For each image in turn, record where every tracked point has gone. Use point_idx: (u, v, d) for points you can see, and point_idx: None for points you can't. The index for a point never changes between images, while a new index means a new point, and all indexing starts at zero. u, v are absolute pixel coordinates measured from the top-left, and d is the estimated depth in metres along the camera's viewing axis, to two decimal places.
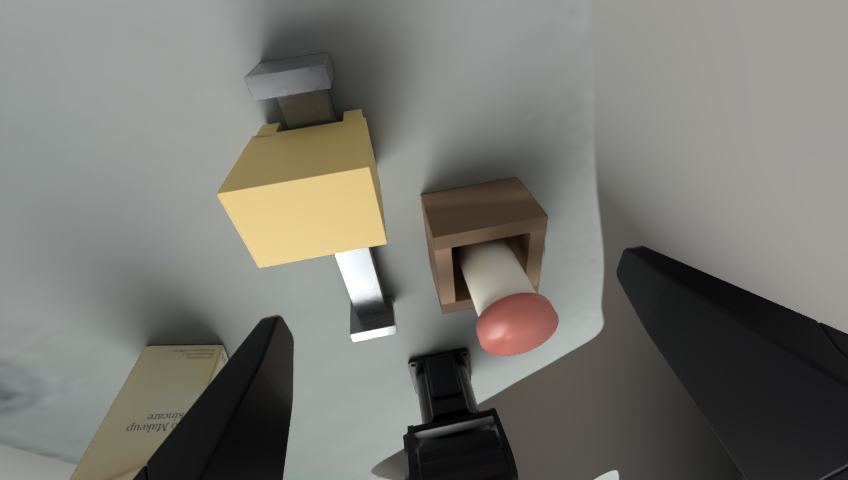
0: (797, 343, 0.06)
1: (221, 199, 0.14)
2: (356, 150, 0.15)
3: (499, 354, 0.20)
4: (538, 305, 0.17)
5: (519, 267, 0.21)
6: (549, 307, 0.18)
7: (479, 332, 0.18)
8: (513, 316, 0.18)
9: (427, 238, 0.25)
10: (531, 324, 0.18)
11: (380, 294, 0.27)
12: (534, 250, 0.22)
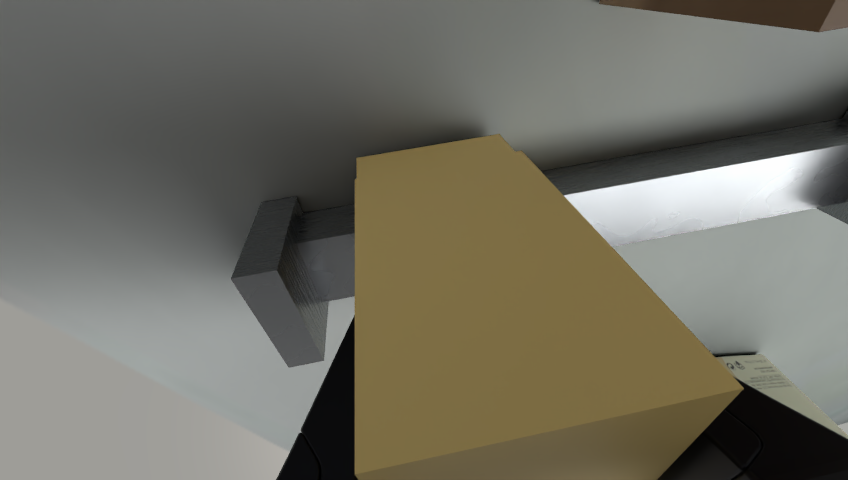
0: None
1: None
2: None
3: None
4: None
5: None
6: None
7: None
8: None
9: None
10: None
11: (833, 148, 0.10)
12: None
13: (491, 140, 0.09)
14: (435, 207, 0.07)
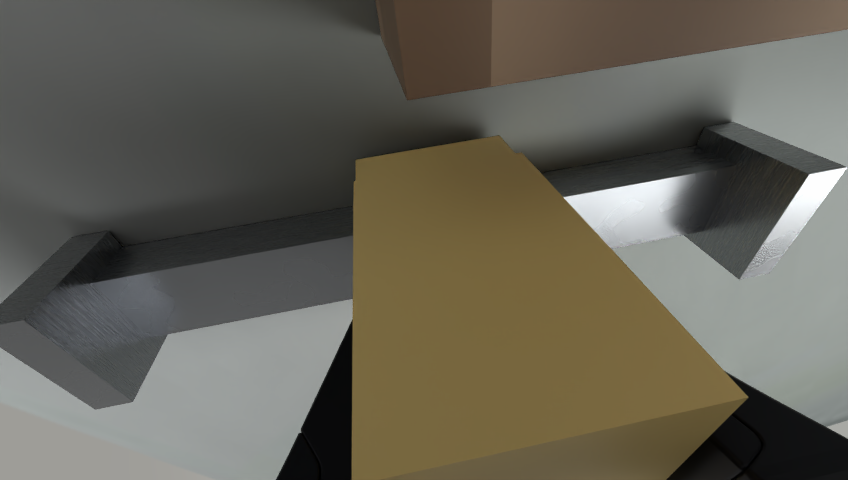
0: None
1: None
2: None
3: None
4: None
5: None
6: None
7: None
8: None
9: None
10: None
11: (669, 180, 0.10)
12: None
13: (491, 142, 0.09)
14: (434, 210, 0.07)
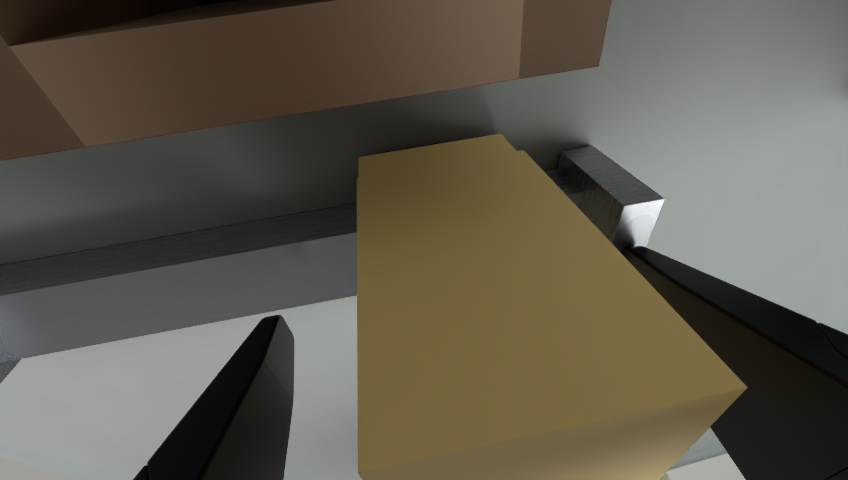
0: (796, 343, 0.06)
1: None
2: None
3: None
4: None
5: None
6: None
7: None
8: None
9: None
10: None
11: None
12: None
13: (493, 139, 0.09)
14: (437, 206, 0.07)
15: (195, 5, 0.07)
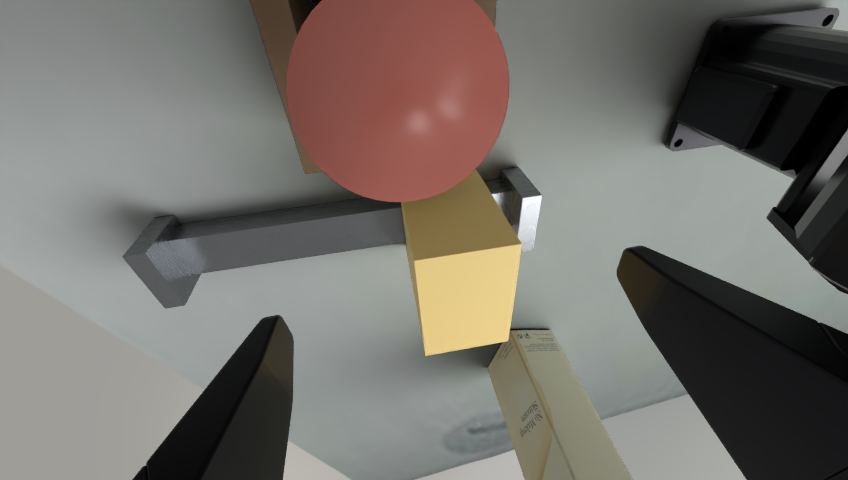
0: (797, 343, 0.06)
1: (431, 354, 0.16)
2: (409, 240, 0.14)
3: (488, 146, 0.08)
4: (292, 69, 0.06)
5: None
6: (304, 26, 0.06)
7: (397, 197, 0.08)
8: (336, 135, 0.07)
9: None
10: (376, 76, 0.06)
11: None
12: None
13: None
14: None
15: None
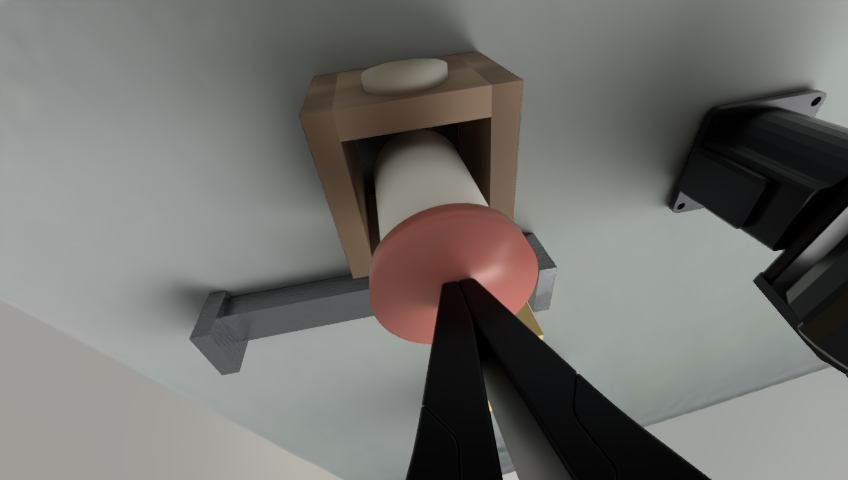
0: (541, 398, 0.05)
1: None
2: None
3: (520, 305, 0.10)
4: (376, 281, 0.08)
5: (389, 190, 0.11)
6: (387, 258, 0.08)
7: None
8: (403, 312, 0.09)
9: None
10: (437, 278, 0.08)
11: None
12: (386, 121, 0.11)
13: None
14: None
15: (368, 197, 0.18)
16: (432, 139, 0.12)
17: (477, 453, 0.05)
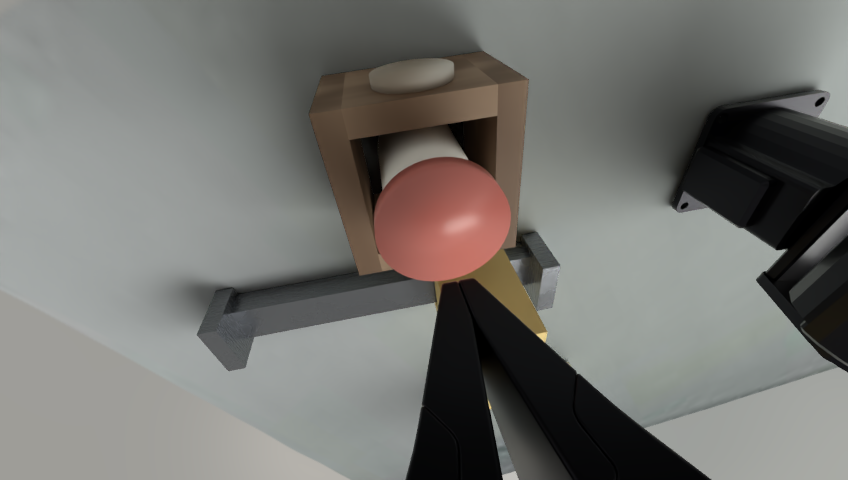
0: (540, 398, 0.05)
1: None
2: None
3: (498, 246, 0.12)
4: (379, 219, 0.10)
5: (390, 155, 0.13)
6: (388, 198, 0.10)
7: (437, 277, 0.12)
8: (402, 248, 0.11)
9: None
10: (429, 217, 0.11)
11: None
12: (394, 120, 0.11)
13: None
14: None
15: (373, 195, 0.18)
16: None
17: (477, 452, 0.05)
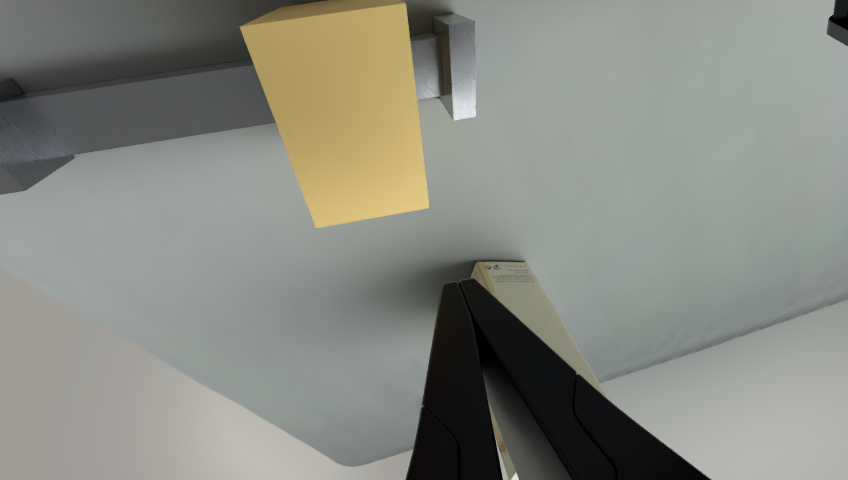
0: (540, 398, 0.05)
1: (323, 225, 0.12)
2: None
3: None
4: None
5: None
6: None
7: None
8: None
9: None
10: None
11: None
12: None
13: None
14: (320, 4, 0.12)
15: None
16: None
17: (477, 453, 0.05)
